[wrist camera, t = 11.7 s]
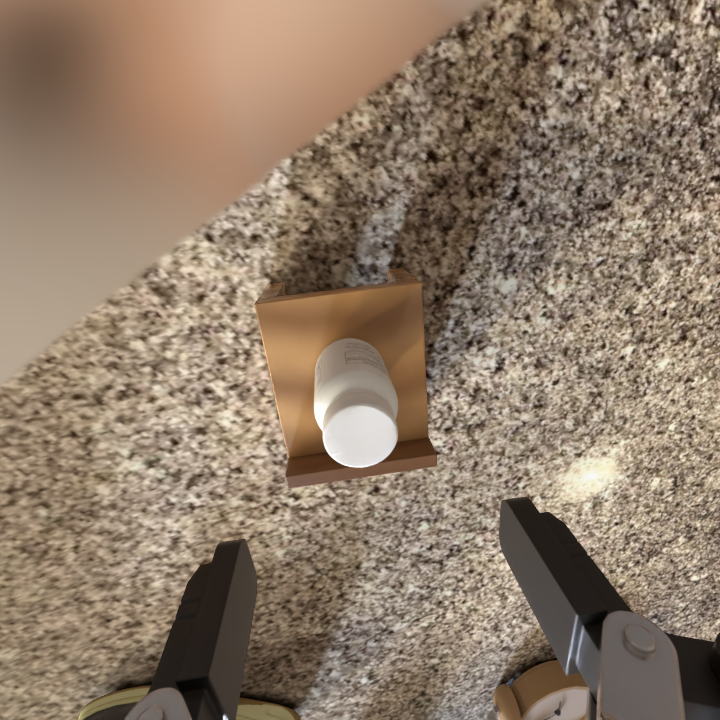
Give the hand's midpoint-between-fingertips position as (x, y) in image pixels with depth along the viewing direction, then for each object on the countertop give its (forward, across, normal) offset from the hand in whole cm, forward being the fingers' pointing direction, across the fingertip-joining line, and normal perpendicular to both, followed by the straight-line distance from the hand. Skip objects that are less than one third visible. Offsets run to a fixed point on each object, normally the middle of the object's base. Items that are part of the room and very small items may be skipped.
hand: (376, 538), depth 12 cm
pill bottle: (+14, 0, 0) cm, 14 cm away
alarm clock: (+19, -19, +53) cm, 60 cm away
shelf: (+19, 0, +1) cm, 19 cm away
